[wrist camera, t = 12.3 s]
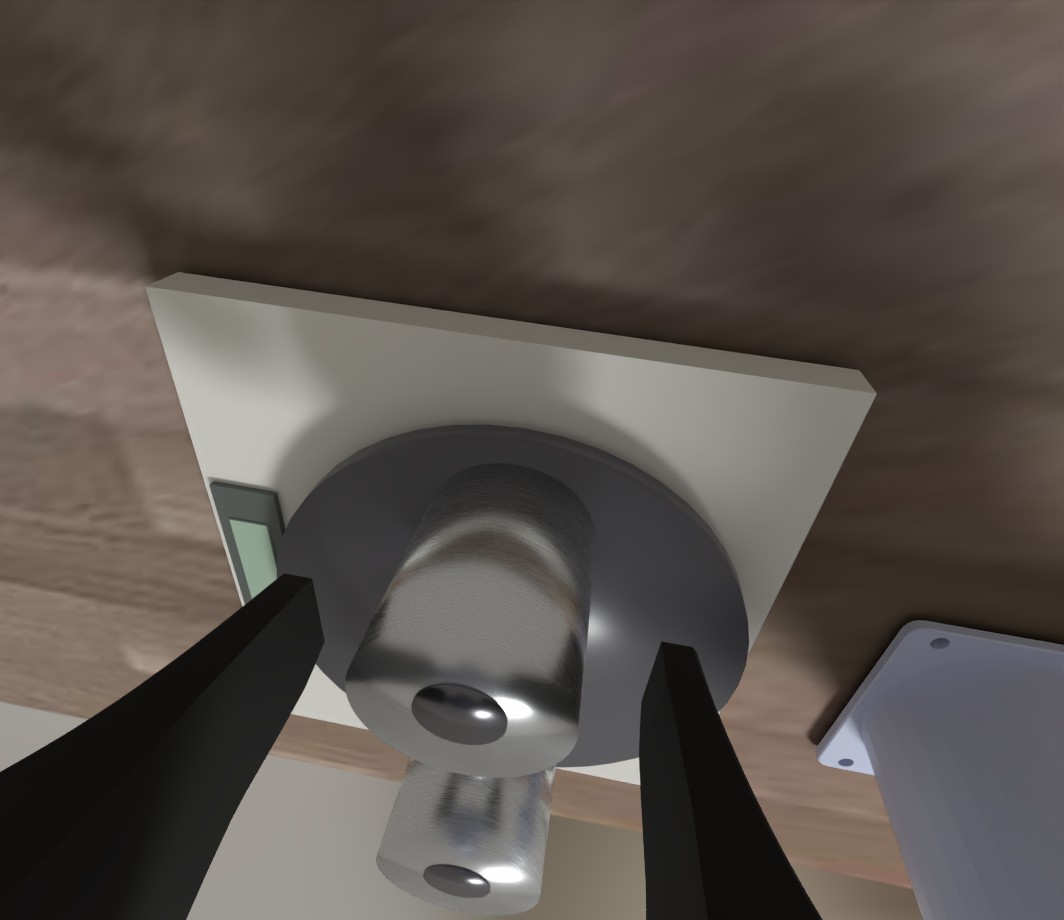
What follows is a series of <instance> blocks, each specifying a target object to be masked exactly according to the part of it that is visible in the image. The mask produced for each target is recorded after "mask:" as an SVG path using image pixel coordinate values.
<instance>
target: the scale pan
mask: <svg viewBox="0 0 1064 920" xmlns="http://www.w3.org/2000/svg"><path fill="white" fill-rule="evenodd" d="M492 463H506V464H514V465H520V466H525V467H529V468H532V469H535V470H538V471H541V472H543V473H545V474H547V475H549V476H551V477H553V478H555V479H557V480H558V481H560V482H561V483H563V484H564V485H566V486H567V487H568V488H569V489H571V490H572V491H573V492H574V493H575V494H576V495H577V496H578V497H579V498H580V499H581V501H582V502H583V503H584V505H585V506H586V508H587V509H588V511H589V513H590V515H591V517H592V520H593V522H594V526H595V531H596V551H595V562H594V573H593V584H592V595H591V606H590V617H589V628H588V639H587V650H586V661H585V672H584V682H583V693H582V704H581V715H580V726H579V734H578V739H577V742H576V744H575V746H574V748H573V749H572V751H571V752H570V753H569V755H568V756H566V757H565V758H564V759H563V760H562V761H561V762H559V763H557V764H556V767H563V768H565V767H587V766H596V765H604V764H612V763H616V762H621V761H626V760H630V759H635V758H638V757H639V737H640V716H641V701H642V698H643V695H644V692H645V689H646V686H647V683H648V680H649V677H650V674H651V671H652V668H653V665H654V662H655V659H656V656H657V653H658V650H659V647H660V644H661V641H662V642H668V643H673V644H679V645H684V646H690V647H693V648H694V649H695V651H696V652H697V655H698V658H699V661H700V664H701V667H702V670H703V673H704V676H705V679H706V682H707V685H708V687H709V690H710V693H711V695H712V698H713V701H714V703H715V706H716V708H717V711H718V712H719V711H720V710H721V709H722V708H723V707H724V705H725V704H726V703H727V702H728V700H729V699H730V697H731V696H732V694H733V692H734V691H735V689H736V688H737V686H738V684H739V682H740V679H741V677H742V674H743V671H744V669H745V666H746V661H747V655H748V648H749V630H748V618H747V613H746V608H745V603H744V598H743V594H742V591H741V587H740V583H739V579H738V575H737V573H736V571H735V568H734V566H733V564H732V562H731V560H730V558H729V556H728V553H727V551H726V550H725V548H724V547H723V545H722V544H721V542H720V541H719V539H718V538H717V537H716V535H715V534H714V532H713V531H712V529H711V528H710V527H709V525H708V524H707V523H706V522H705V521H704V520H703V519H702V518H701V517H700V516H699V515H698V514H697V513H696V512H695V510H694V509H693V508H692V507H691V506H690V505H689V504H688V503H687V502H685V501H684V500H683V499H682V498H680V497H679V496H678V495H677V494H675V493H674V492H673V491H672V490H670V489H669V488H668V487H667V486H666V485H664V484H663V483H662V482H660V481H658V480H657V479H655V478H654V477H652V476H650V475H649V474H647V473H646V472H644V471H642V470H641V469H639V468H637V467H636V466H634V465H633V464H631V463H629V462H626V461H624V460H622V459H620V458H618V457H616V456H614V455H611V454H609V453H607V452H605V451H603V450H601V449H599V448H596V447H593V446H590V445H587V444H584V443H581V442H578V441H575V440H572V439H569V438H566V437H563V436H559V435H554V434H549V433H545V432H540V431H535V430H531V429H526V428H517V427H508V426H498V425H448V426H441V427H434V428H427V429H419V430H415V431H411V432H408V433H404V434H400V435H397V436H393V437H389V438H386V439H384V440H382V441H379V442H377V443H375V444H372V445H370V446H368V447H366V448H363V449H361V450H359V451H358V452H356V453H354V454H353V455H351V456H350V457H348V458H347V459H345V460H343V461H342V462H340V463H339V464H337V465H336V466H335V467H334V468H333V469H332V470H331V471H330V472H329V473H327V474H326V475H325V476H324V477H323V478H322V479H321V480H320V481H319V482H318V483H317V484H316V486H315V487H314V488H313V489H312V491H311V492H310V493H309V495H308V496H307V497H306V498H305V500H304V501H303V502H302V504H301V505H300V506H299V508H298V509H297V510H296V512H295V513H294V514H293V516H292V517H291V519H290V521H289V523H288V525H287V528H286V530H285V532H284V534H283V536H282V539H281V544H280V548H279V552H278V557H277V578H279V577H280V576H281V575H283V574H284V573H285V574H291V575H296V576H302V577H307V578H312V580H313V585H314V590H315V595H316V600H317V605H318V610H319V615H320V620H321V625H322V630H323V635H324V640H325V642H324V645H323V647H322V650H321V652H320V654H319V657H318V659H317V662H316V665H317V666H318V667H319V669H320V670H321V671H322V672H323V673H324V674H325V675H326V676H327V677H328V678H329V679H330V680H331V681H332V682H333V683H334V684H335V685H337V686H338V687H339V688H340V689H341V690H342V691H344V692H345V693H346V691H345V678H346V673H347V670H348V668H349V666H350V664H351V662H352V660H353V658H354V656H355V654H356V652H357V650H358V648H359V646H360V644H361V642H362V639H363V637H364V635H365V633H366V631H367V629H368V627H369V625H370V623H371V621H372V619H373V617H374V615H375V613H376V611H377V609H378V607H379V605H380V603H381V601H382V599H383V597H384V595H385V593H386V591H387V588H388V586H389V584H390V582H391V580H392V578H393V576H394V574H395V572H396V570H397V568H398V566H399V564H400V562H401V560H402V558H403V556H404V554H405V552H406V550H407V548H408V546H409V544H410V542H411V540H412V537H413V535H414V533H415V531H416V529H417V527H418V525H419V523H420V521H421V519H422V517H423V515H424V513H425V511H426V509H427V507H428V505H429V503H430V501H431V499H432V497H433V495H434V493H435V492H436V490H437V489H438V488H439V486H440V485H441V484H442V483H443V482H444V481H446V480H447V479H448V478H450V477H451V476H452V475H454V474H456V473H458V472H460V471H462V470H464V469H467V468H470V467H473V466H478V465H483V464H492Z"/></svg>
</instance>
